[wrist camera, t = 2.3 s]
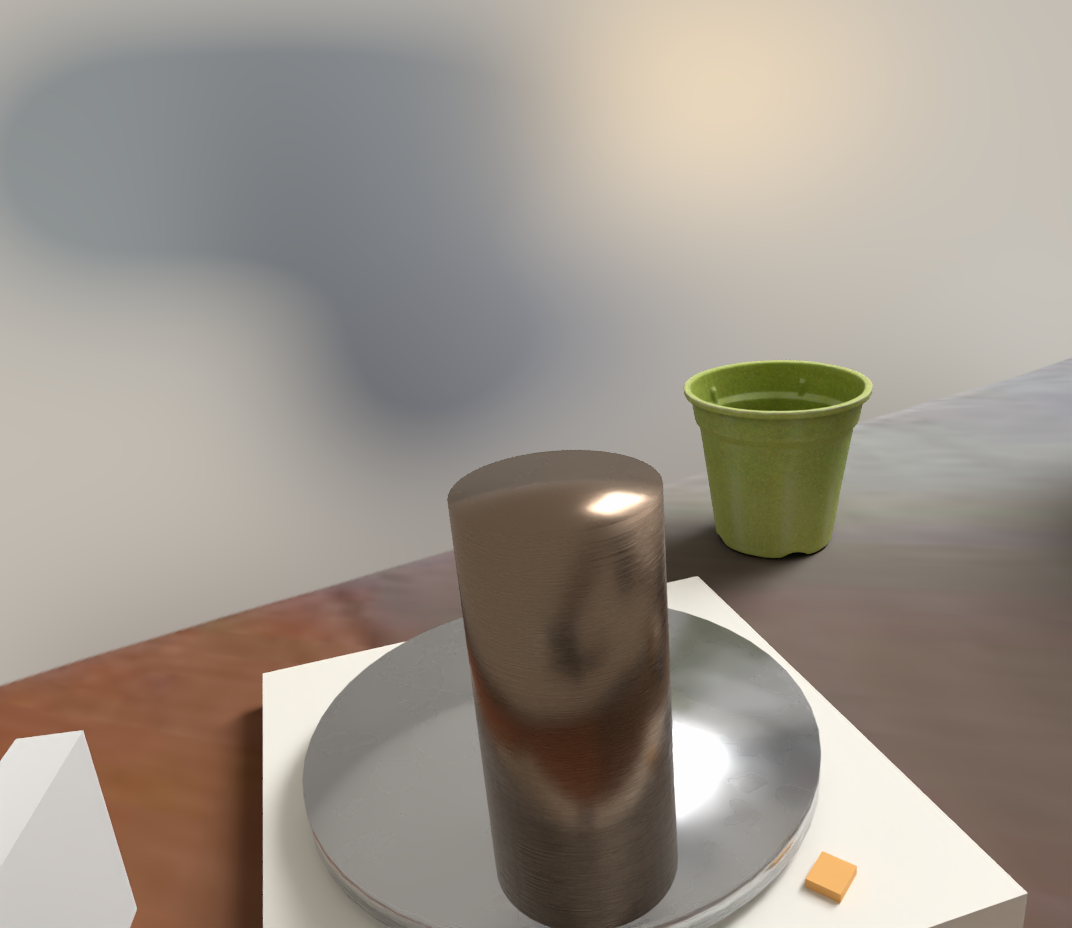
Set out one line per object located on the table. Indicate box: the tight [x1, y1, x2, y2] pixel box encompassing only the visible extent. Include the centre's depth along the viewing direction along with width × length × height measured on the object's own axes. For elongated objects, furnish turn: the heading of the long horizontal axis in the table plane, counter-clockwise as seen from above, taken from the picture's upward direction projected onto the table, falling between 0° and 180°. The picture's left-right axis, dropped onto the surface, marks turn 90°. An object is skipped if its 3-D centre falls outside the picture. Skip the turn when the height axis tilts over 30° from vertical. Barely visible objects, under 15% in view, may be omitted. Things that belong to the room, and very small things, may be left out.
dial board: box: [263, 576, 1028, 928], centre depth 31 cm, size 20×20×2 cm
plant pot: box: [684, 360, 873, 558], centre depth 47 cm, size 9×9×9 cm
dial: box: [302, 450, 821, 928], centre depth 28 cm, size 17×17×12 cm
